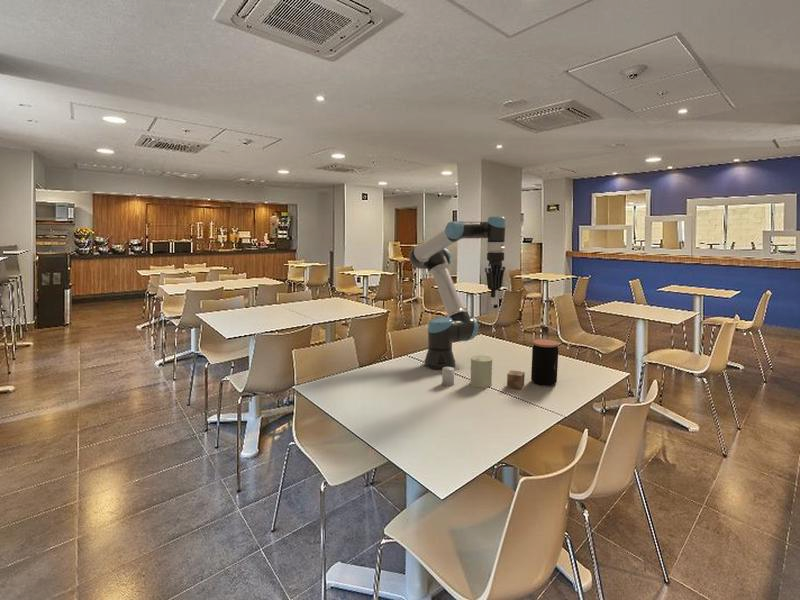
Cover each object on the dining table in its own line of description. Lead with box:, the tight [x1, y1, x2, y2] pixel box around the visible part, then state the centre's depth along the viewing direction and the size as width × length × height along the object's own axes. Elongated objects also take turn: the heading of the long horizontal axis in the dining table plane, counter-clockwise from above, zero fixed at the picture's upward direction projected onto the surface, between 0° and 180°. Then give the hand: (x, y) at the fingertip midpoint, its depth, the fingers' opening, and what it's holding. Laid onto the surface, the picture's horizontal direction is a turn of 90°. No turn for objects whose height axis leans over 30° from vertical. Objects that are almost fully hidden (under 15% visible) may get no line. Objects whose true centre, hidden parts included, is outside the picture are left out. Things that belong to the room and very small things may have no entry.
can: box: [469, 354, 493, 389], centre depth 185 cm, size 9×9×12 cm
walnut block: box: [506, 369, 526, 391], centre depth 182 cm, size 6×6×6 cm
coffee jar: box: [530, 338, 560, 387], centre depth 186 cm, size 11×11×18 cm
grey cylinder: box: [441, 367, 455, 387], centre depth 185 cm, size 5×5×7 cm
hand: (494, 304), depth 195 cm, fingers closed
